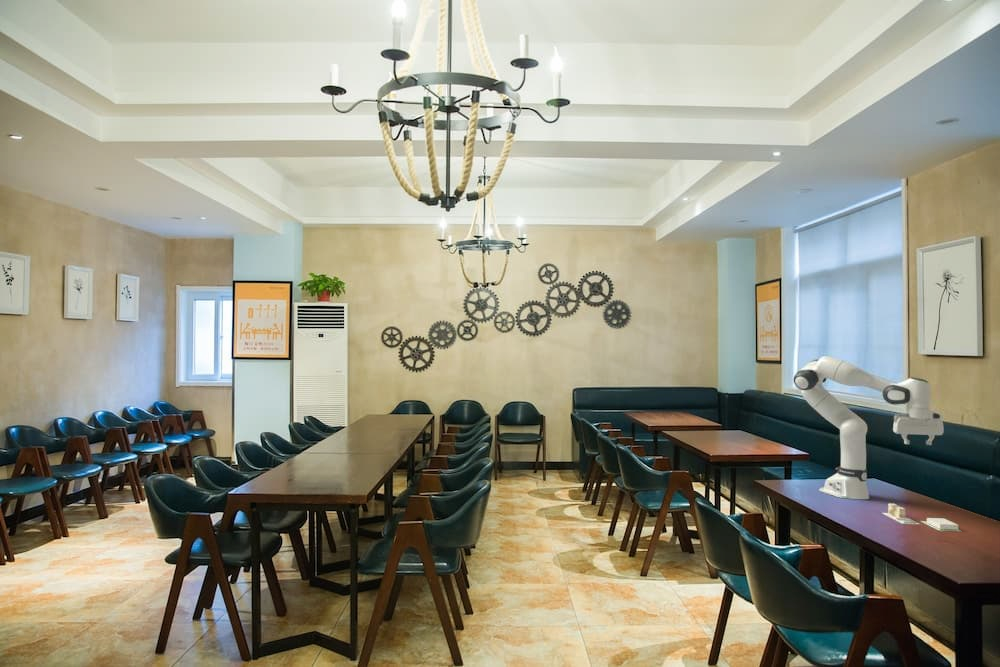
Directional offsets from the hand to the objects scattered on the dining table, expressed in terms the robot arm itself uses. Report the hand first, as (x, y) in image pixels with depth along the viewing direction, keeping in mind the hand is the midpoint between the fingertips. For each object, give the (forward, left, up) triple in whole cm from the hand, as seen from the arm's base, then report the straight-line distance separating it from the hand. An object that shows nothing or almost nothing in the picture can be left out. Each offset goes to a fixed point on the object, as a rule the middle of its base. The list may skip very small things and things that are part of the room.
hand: (917, 444), depth 281 cm
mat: (+17, -12, -31) cm, 37 cm away
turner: (+4, -17, -31) cm, 35 cm away
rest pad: (+4, -17, -31) cm, 36 cm away
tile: (+14, -10, -29) cm, 34 cm away
